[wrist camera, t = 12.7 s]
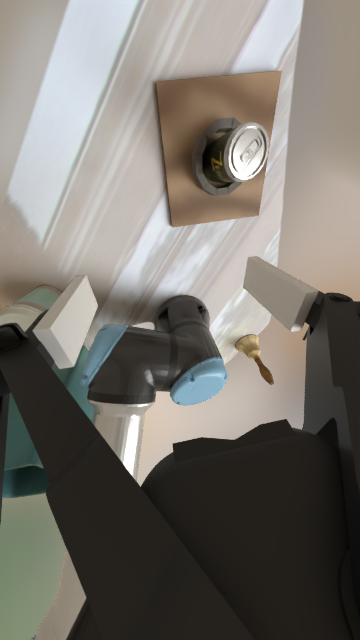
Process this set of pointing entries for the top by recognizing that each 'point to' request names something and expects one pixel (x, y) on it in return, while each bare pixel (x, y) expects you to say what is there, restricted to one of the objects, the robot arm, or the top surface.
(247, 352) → the hand bell
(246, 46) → the top surface
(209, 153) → the beer can
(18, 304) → the coffee cup
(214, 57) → the top surface
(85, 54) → the top surface
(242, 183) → the collar holder
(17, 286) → the top surface
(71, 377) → the flower pot
